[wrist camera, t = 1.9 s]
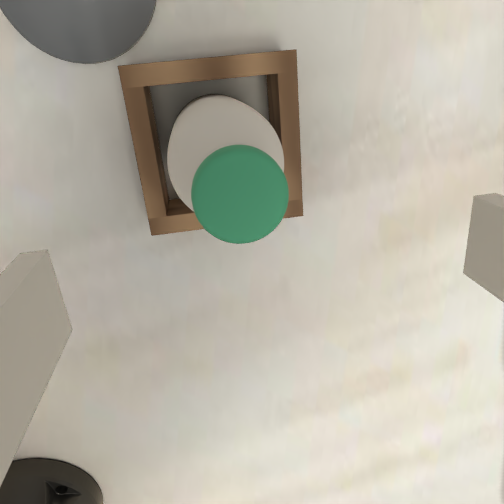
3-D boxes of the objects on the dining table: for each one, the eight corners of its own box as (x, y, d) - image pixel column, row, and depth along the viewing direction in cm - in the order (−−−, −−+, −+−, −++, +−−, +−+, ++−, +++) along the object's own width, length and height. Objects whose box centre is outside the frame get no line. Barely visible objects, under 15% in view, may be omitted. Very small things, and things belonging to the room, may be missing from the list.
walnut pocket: (155, 217, 39) (151, 235, 35) (127, 67, 34) (117, 65, 29) (290, 200, 40) (303, 215, 36) (282, 52, 35) (296, 49, 31)
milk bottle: (154, 146, 37) (120, 215, 18) (207, 73, 35) (228, 70, 17) (222, 197, 39) (252, 302, 21) (275, 132, 38) (356, 185, 19)
